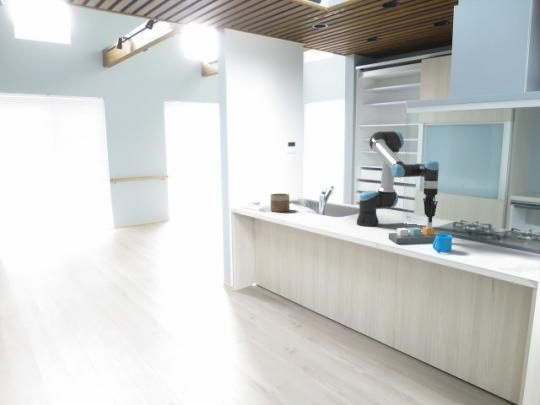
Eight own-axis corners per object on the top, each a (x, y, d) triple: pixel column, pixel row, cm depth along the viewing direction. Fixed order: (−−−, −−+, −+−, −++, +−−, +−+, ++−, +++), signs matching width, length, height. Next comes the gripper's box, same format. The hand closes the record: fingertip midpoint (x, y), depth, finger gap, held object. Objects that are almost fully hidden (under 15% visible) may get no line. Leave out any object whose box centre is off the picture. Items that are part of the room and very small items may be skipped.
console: (388, 238, 241) (388, 233, 240) (432, 237, 243) (433, 231, 243) (396, 244, 229) (396, 238, 228) (442, 242, 232) (443, 236, 231)
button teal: (409, 234, 238) (410, 227, 237) (417, 233, 238) (417, 227, 238) (413, 236, 233) (413, 229, 232) (421, 235, 233) (421, 229, 233)
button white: (396, 234, 237) (397, 228, 236) (404, 234, 237) (404, 228, 237) (400, 236, 232) (400, 230, 232) (408, 236, 233) (408, 229, 232)
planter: (279, 213, 326) (279, 196, 324) (266, 210, 338) (266, 194, 335) (293, 210, 337) (293, 194, 334) (280, 208, 348) (280, 192, 346)
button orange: (422, 233, 238) (422, 227, 238) (430, 233, 239) (430, 226, 238) (426, 235, 234) (426, 229, 233) (434, 235, 234) (434, 228, 234)
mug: (442, 247, 221) (442, 233, 220) (454, 251, 214) (455, 236, 213) (426, 250, 216) (427, 236, 214) (439, 254, 209) (440, 239, 207)
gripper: (419, 186, 238) (417, 225, 241) (430, 189, 225) (428, 230, 229) (431, 186, 238) (429, 224, 242) (442, 189, 226) (440, 229, 229)
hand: (429, 227), depth 235 cm, fingers closed
